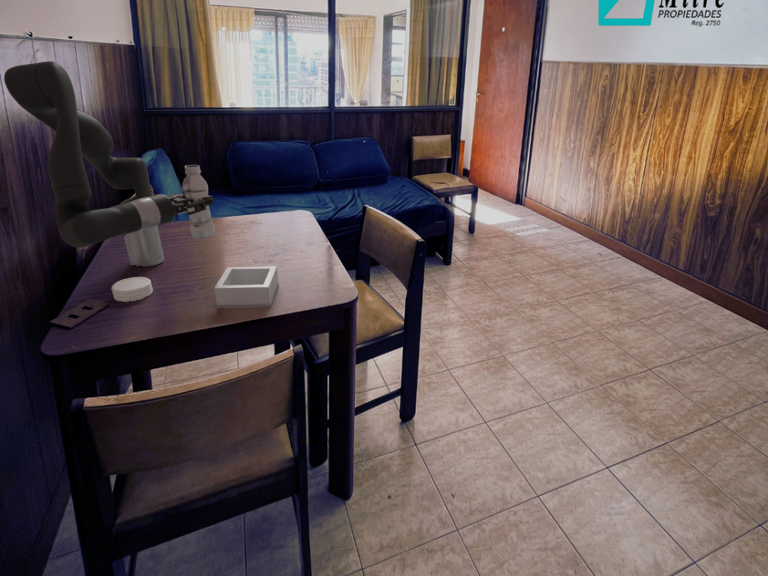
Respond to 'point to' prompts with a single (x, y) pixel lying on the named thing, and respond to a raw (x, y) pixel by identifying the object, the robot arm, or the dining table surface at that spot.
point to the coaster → (132, 289)
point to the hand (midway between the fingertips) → (204, 197)
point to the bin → (247, 287)
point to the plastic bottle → (198, 189)
